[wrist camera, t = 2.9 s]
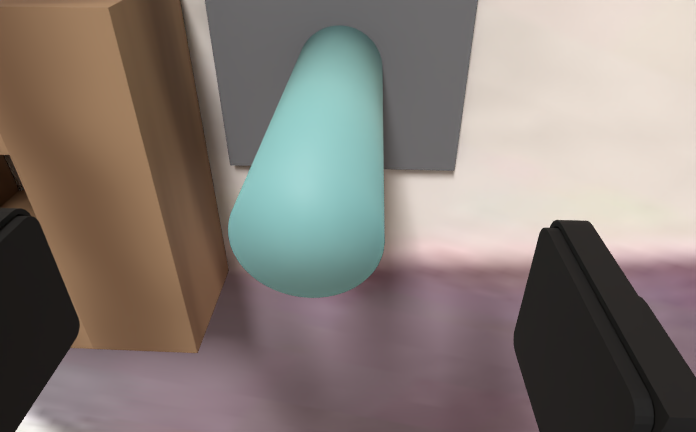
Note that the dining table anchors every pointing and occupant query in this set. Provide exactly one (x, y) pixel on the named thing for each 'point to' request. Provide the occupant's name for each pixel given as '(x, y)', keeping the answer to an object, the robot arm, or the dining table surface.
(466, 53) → the mat
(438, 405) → the dining table surface
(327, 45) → the peg
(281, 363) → the dining table surface
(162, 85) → the hole block
